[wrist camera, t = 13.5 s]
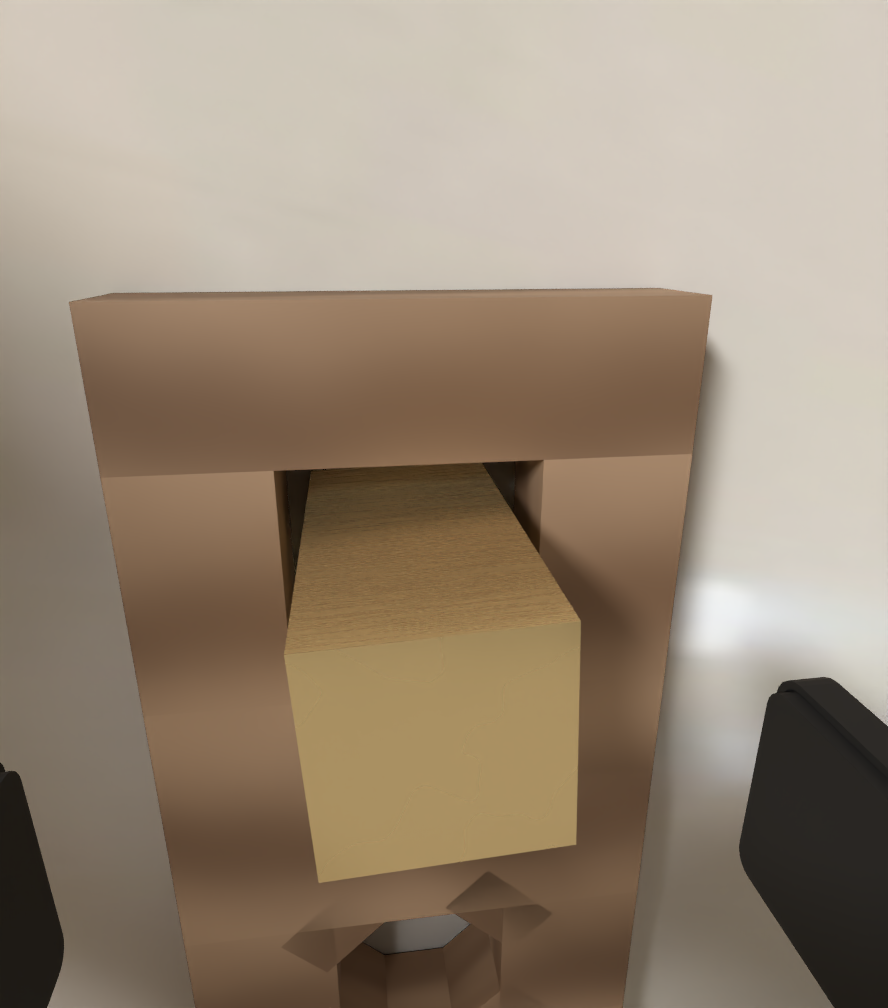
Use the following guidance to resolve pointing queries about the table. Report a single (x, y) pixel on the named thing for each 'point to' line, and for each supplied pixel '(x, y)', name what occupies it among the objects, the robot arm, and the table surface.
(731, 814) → the table surface
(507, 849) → the square peg
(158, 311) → the socket block
